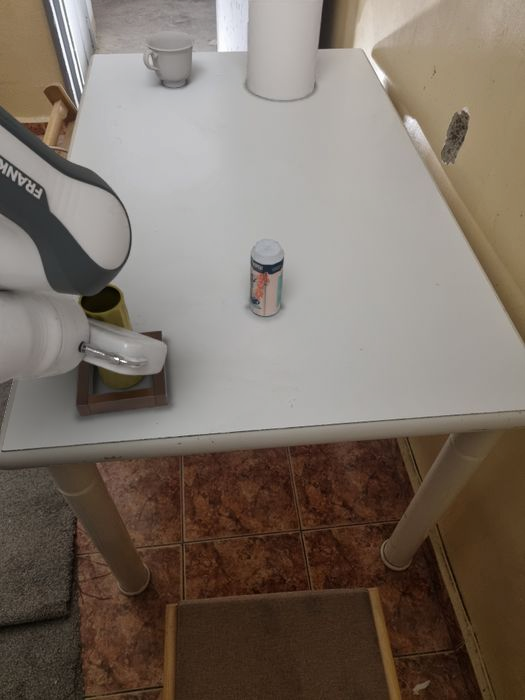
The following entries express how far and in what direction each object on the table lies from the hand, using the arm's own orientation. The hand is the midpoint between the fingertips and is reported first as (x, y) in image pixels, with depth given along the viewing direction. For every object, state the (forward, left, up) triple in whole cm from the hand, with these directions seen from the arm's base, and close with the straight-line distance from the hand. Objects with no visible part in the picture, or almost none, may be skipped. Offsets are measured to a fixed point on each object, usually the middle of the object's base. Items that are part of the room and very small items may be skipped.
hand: (114, 331), depth 66 cm
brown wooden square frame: (0, -1, -9) cm, 9 cm away
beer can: (+22, +10, -9) cm, 26 cm away
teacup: (+12, +91, -9) cm, 92 cm away
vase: (0, -1, -8) cm, 8 cm away
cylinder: (+40, +88, -9) cm, 97 cm away
